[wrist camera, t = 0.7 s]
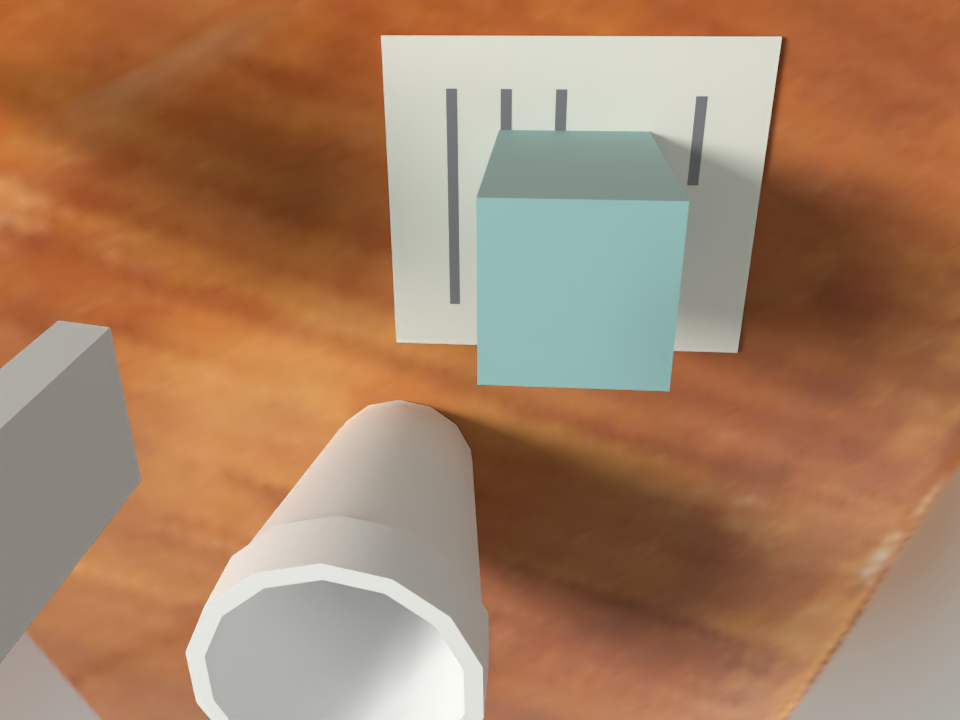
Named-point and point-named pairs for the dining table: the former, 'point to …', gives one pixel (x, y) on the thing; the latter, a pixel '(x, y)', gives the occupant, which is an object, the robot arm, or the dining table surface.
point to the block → (578, 261)
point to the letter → (573, 107)
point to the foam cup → (356, 587)
